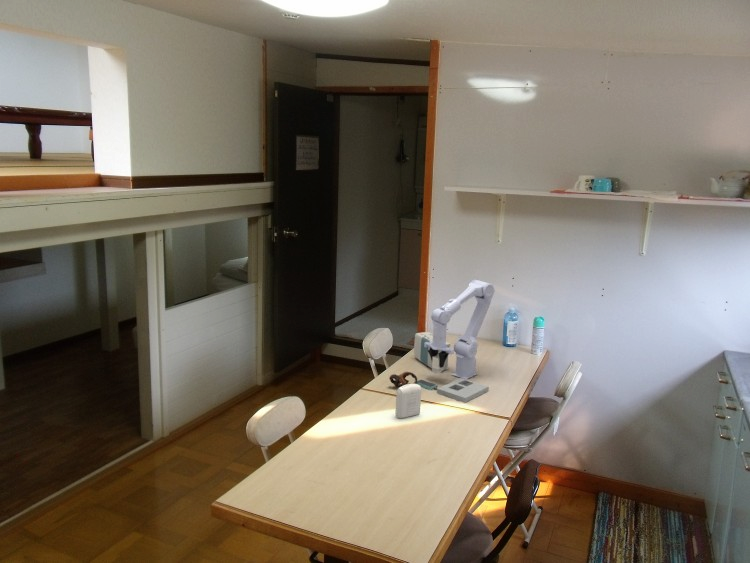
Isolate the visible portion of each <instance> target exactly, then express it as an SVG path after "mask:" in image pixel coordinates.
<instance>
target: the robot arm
mask: <svg viewBox="0 0 750 563" xmlns="http://www.w3.org/2000/svg"><path fill="white" fill-rule="evenodd" d="M495 292H496V290H495V288H494V285H493V284H492V283H491V282H486V281H482V280H479V279H476V278H475V279H473V280H472V281H471V282H469V283H468V287H467V288H466V289H465V290H464V291H462V292H461V293H460V294H459V295H458V296H457V297H456V298H450V299H449V300H448V301H447V302H446V303H444V304H443V305H441V307H440V308H436V309H434V310H433V311H432V313H431V315H430V318H431V320H432V324H433V328H432V329H433V330H432V334H433V343H430V342H425V343H424V347H429V348H430V350H428V352H429V354H430V357H431V360H433V357H434V356H436V355H438V354H439V360H440V362H439V367H440V368H442V367H444V363H445V360H446V358H447V356H448V357H449V355H455V356H456V360H455V361H456V362H455V372H453V373H451V376H453V377H454V376H455V377H457V378H459V379H460V378H463V379H466V380H469V379H470V378H472V377H475V376H476V375H478V373H477V372H476V370H477V369H476V368H477V359H476V355H477V353H478V352H477V351H478V347H479V343H478V341H477V339H476V338H477V337H478V334H479V332H480V330H481V327H482V325H483V322H484V320H485V318H486V315H487V313H488V311H489V309H490V306H491V303H492V299H493V297H494V293H495ZM473 297H474V298H475V299H476V301H477V303H476V305H475V308H474V310H473V313H472V315H471V317H470V319H469V322H468V325H467V328H466V330H465V331H464V333H463V334H462V335H459V337H458V339H457V340H456V341H455V343H454V345H453V348H451V347H447V346H446V341H447V329H448V326H447V325H448V323H449V322H450V320H451V318H452V316H453V315H455V313H457V312H458V311H460V310H461V307H462V306H461V305H463V304H464V303H465V302H467V301H469V300H470V299H471V298H473ZM438 351H441V352H440V353H438Z"/></svg>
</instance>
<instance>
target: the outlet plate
mask: <svg viewBox="0 0 750 563" xmlns="http://www.w3.org/2000/svg"><path fill="white" fill-rule="evenodd" d="M489 390H490V388H489V386H488V385H485V384H481V383H479V382H475V381H471V380H469V379H463V378H460V377H459V378H458V379H456V380H453V381H451V382H449V383H446V384H445V385H442V386H440V387H438V388H437V390H436V394H437V395H438V394H439V395H441V396H444V397H447V398H450V399H454V400H456V401H459V402H462V403H464V404H465V403H467V402H469V401H472V400H474V399H475V398H477V397H479V396H481V395H483V394H486V393H487V392H489Z"/></svg>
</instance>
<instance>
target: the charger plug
mask: <svg viewBox="0 0 750 563" xmlns="http://www.w3.org/2000/svg"><path fill="white" fill-rule="evenodd" d="M439 362H440V360H439V355H436V356H434V357H433V360H432V368H431V372H434V373H437V374H438V373H441V372H444V370H443V368H444V367H442V368H440V367H439Z"/></svg>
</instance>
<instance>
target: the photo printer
mask: <svg viewBox="0 0 750 563" xmlns="http://www.w3.org/2000/svg"><path fill="white" fill-rule="evenodd" d="M395 397H396V399H395V417H396V418H398V419H404V418H409V417H413V416H417V415H420V413H421V401H422V387H421V386H420V385H418V384H409V383H408V384H406V385H404V386H403V385H402V386H400V387H397V390H396V396H395Z"/></svg>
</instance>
